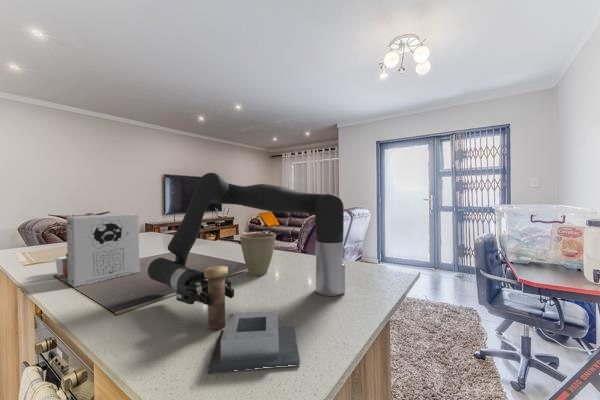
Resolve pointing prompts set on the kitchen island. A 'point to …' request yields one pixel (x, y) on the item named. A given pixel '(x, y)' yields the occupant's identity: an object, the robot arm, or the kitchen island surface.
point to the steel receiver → (254, 343)
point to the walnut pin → (216, 296)
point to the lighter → (65, 267)
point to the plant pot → (257, 251)
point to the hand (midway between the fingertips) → (222, 297)
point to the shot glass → (59, 265)
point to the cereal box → (102, 247)
